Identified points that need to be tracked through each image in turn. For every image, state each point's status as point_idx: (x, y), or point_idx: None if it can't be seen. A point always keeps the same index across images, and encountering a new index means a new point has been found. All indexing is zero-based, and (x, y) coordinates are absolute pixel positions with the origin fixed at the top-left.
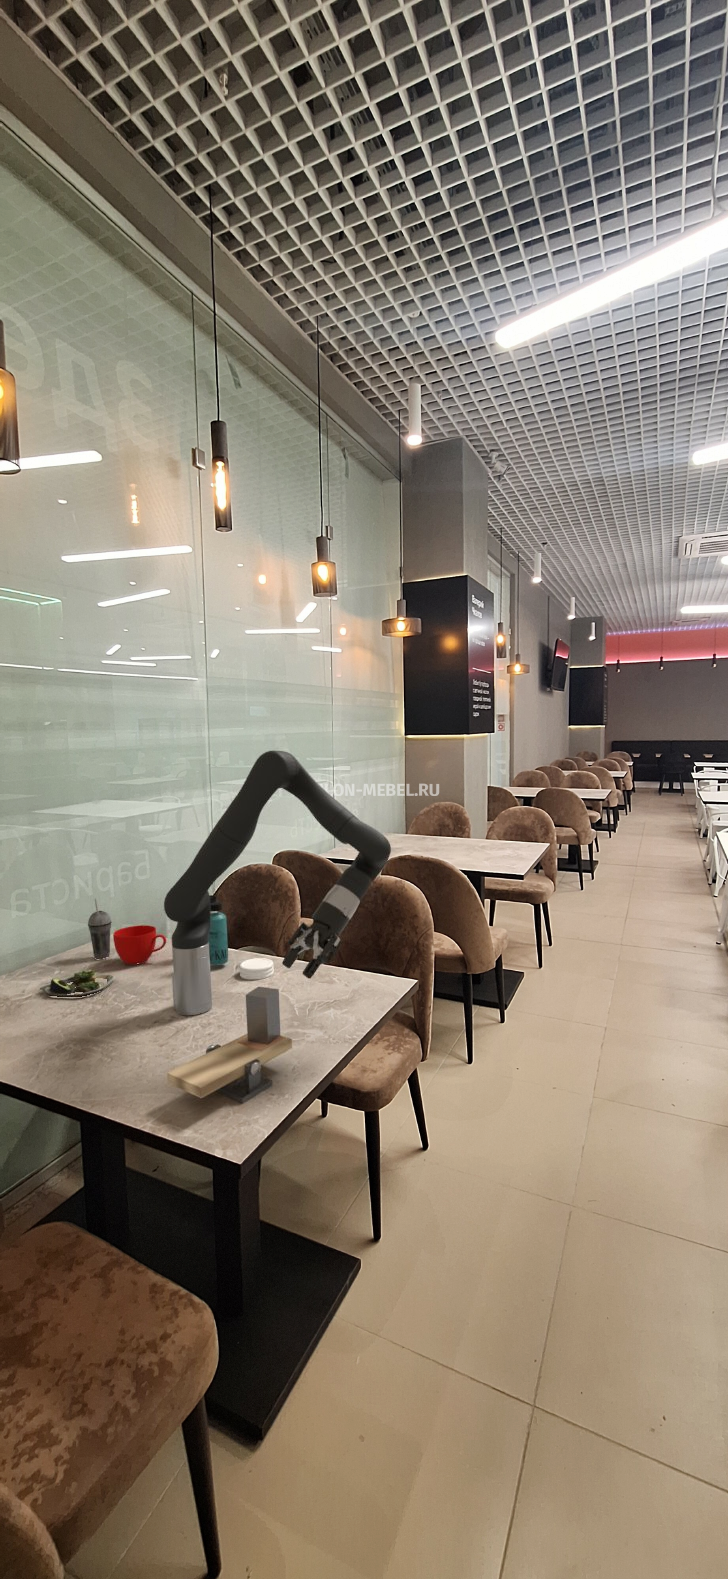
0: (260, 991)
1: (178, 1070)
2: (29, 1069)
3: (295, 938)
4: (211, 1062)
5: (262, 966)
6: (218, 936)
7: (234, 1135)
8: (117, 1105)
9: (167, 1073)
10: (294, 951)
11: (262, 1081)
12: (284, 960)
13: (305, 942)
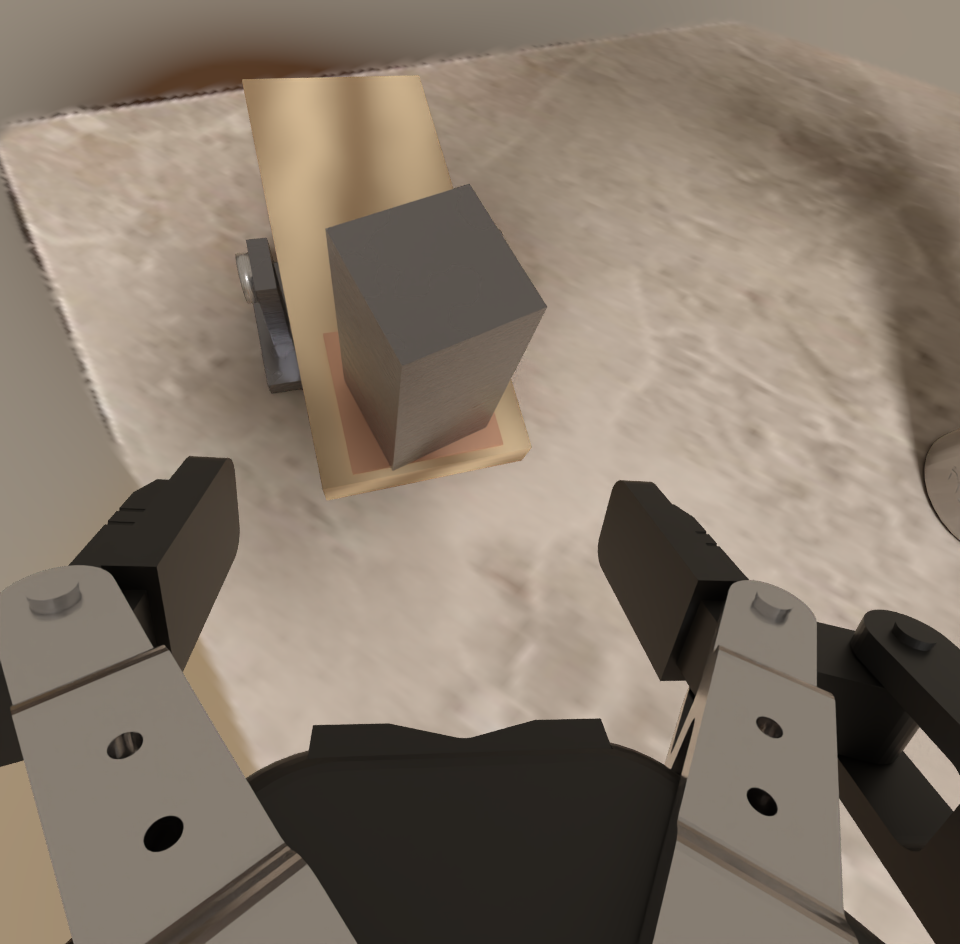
0: (455, 265)
1: (406, 97)
2: (791, 60)
3: (940, 732)
4: (380, 181)
5: None
6: None
7: (119, 181)
8: (495, 92)
9: (417, 77)
10: (686, 613)
11: (288, 358)
12: (643, 490)
13: (608, 742)
